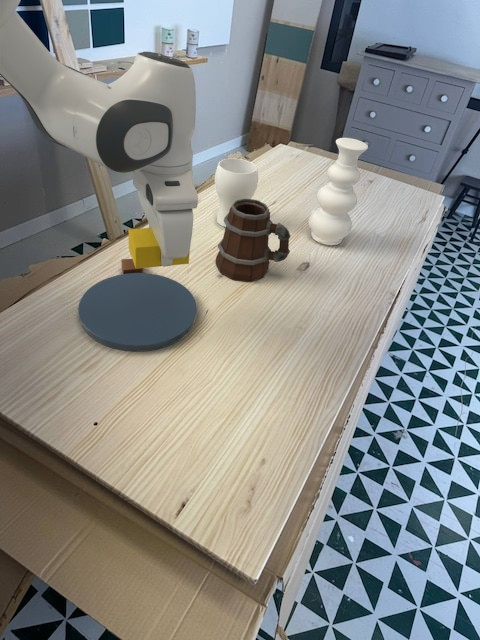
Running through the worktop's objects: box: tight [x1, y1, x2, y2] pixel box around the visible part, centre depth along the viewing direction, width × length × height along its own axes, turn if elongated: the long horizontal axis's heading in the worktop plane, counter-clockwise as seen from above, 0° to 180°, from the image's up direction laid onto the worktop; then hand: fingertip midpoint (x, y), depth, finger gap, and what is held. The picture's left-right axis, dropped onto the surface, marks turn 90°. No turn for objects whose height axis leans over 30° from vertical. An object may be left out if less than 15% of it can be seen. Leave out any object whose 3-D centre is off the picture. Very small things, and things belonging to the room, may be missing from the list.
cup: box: [214, 157, 259, 228], centre depth 117 cm, size 11×11×15 cm
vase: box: [308, 137, 369, 246], centre depth 113 cm, size 11×11×25 cm
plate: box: [77, 272, 198, 352], centre depth 89 cm, size 22×22×2 cm
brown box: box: [120, 258, 144, 274], centre depth 99 cm, size 4×4×2 cm
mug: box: [215, 198, 291, 283], centre depth 101 cm, size 16×12×15 cm
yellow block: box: [128, 227, 191, 269], centre depth 79 cm, size 9×6×4 cm, turn 111°
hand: (160, 252), depth 79 cm, fingers closed on yellow block, 6 cm apart
